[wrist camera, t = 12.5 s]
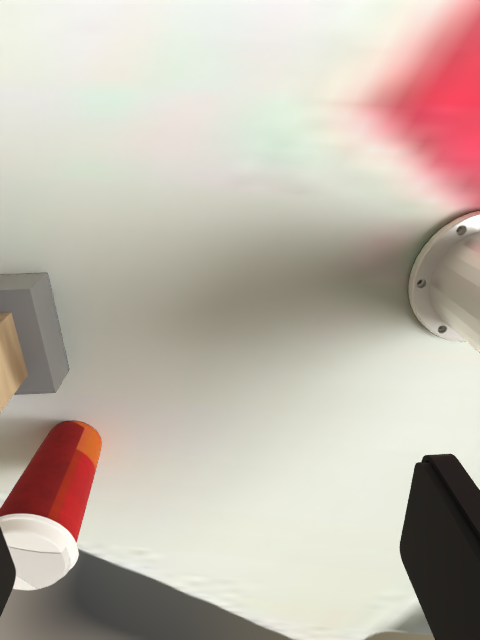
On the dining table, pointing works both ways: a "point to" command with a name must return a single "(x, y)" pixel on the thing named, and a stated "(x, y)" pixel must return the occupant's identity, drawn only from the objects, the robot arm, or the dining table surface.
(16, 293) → the slate pedestal
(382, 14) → the dining table surface
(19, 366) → the oak cube
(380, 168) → the dining table surface
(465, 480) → the robot arm
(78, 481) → the paper cup
